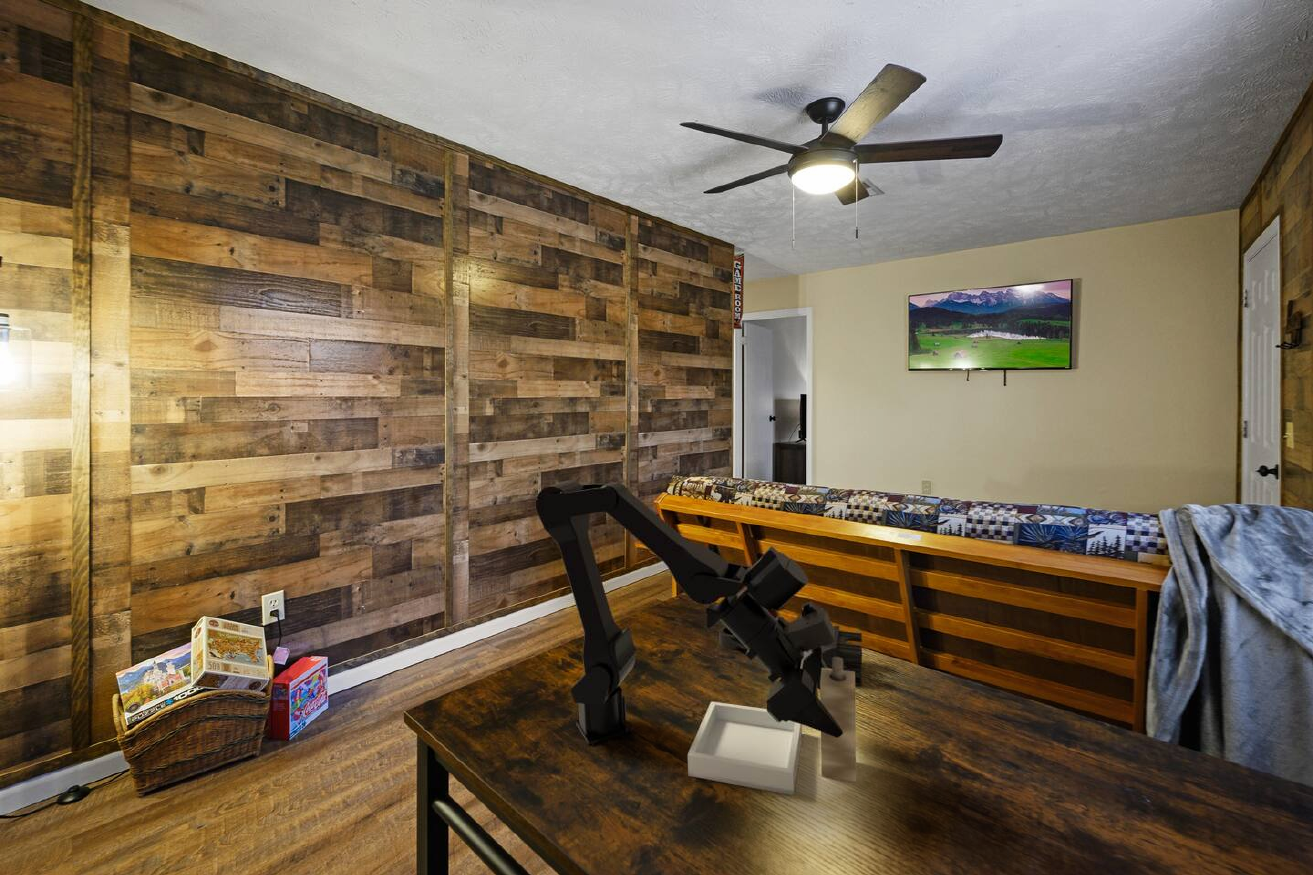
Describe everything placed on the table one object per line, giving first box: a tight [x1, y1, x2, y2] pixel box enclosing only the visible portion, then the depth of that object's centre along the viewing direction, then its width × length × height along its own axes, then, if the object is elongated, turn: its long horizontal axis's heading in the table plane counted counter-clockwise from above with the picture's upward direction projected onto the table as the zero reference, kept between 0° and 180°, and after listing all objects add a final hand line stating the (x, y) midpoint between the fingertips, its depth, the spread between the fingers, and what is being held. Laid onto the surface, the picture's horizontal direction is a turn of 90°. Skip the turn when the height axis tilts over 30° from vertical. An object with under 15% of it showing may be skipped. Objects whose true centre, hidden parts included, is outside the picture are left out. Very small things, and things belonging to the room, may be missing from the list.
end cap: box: [822, 625, 863, 687], centre depth 105 cm, size 10×7×7 cm
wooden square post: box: [819, 657, 857, 783], centre depth 78 cm, size 4×4×16 cm
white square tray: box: [687, 701, 803, 796], centre depth 82 cm, size 14×14×3 cm
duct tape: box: [716, 625, 748, 651], centre depth 118 cm, size 8×10×3 cm
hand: (841, 715), depth 78 cm, fingers open, 9 cm apart
